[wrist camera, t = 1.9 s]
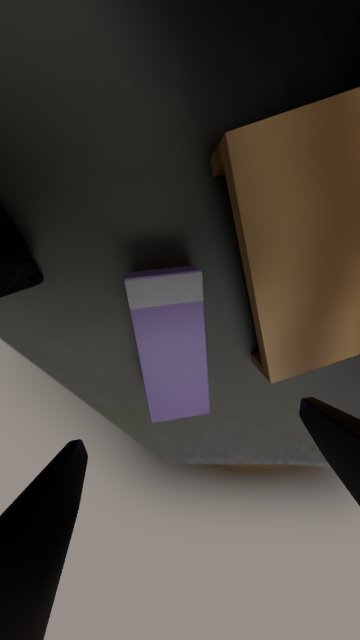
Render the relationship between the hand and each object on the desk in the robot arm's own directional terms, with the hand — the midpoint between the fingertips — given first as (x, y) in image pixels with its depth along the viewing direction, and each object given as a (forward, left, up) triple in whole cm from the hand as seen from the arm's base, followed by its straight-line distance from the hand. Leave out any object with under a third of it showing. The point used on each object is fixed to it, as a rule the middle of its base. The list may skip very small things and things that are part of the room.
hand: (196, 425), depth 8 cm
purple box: (-1, -1, -11) cm, 11 cm away
